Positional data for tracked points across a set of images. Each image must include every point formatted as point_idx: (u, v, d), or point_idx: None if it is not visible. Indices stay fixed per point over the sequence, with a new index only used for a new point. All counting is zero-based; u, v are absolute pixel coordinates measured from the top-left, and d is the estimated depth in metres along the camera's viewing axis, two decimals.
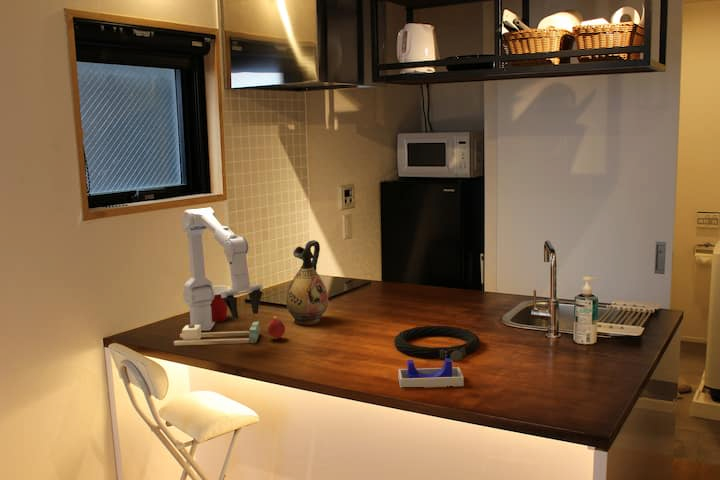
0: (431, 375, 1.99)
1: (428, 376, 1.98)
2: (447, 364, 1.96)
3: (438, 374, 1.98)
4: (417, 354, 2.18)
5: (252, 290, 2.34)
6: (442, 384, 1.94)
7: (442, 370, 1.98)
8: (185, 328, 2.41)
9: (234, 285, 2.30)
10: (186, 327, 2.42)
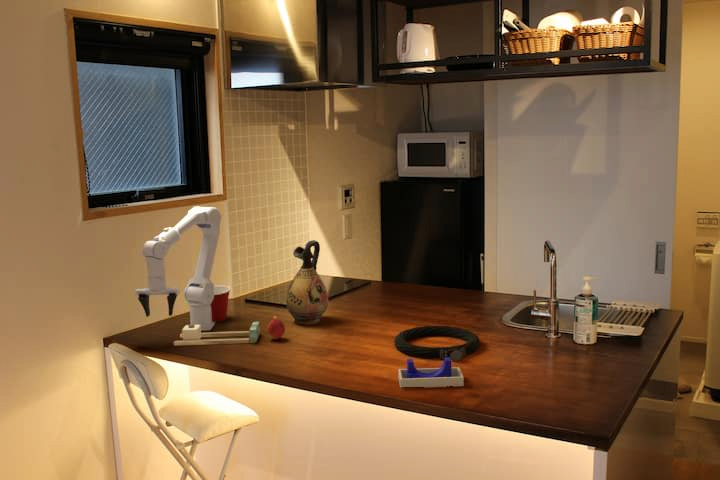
0: (430, 374, 2.00)
1: (427, 375, 1.99)
2: (446, 363, 1.97)
3: (437, 373, 1.99)
4: (417, 354, 2.18)
5: (168, 293, 2.40)
6: (442, 384, 1.94)
7: (441, 369, 1.99)
8: (185, 328, 2.41)
9: None
10: (186, 327, 2.42)
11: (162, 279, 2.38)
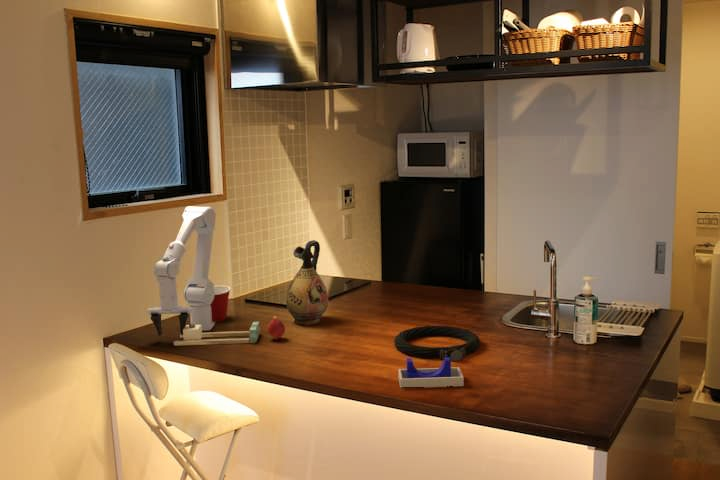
0: (430, 373, 2.00)
1: (426, 375, 1.99)
2: (446, 363, 1.97)
3: (437, 373, 1.99)
4: (417, 354, 2.18)
5: (180, 312, 2.41)
6: (442, 384, 1.94)
7: (441, 369, 1.99)
8: (186, 328, 2.41)
9: None
10: (187, 327, 2.42)
11: (174, 298, 2.39)
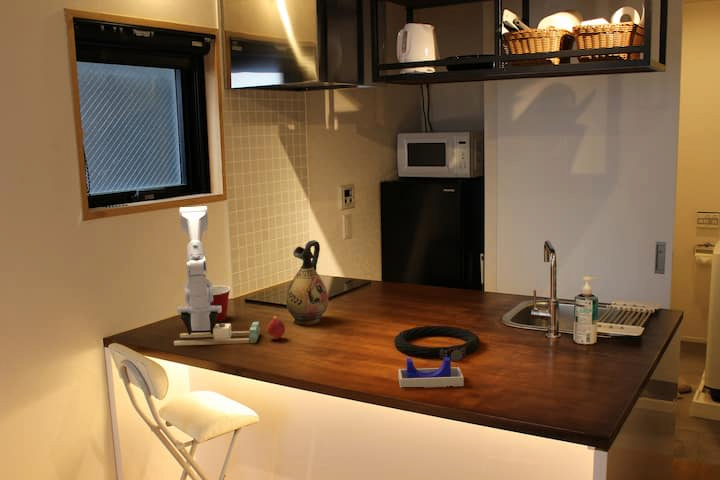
0: (430, 373, 2.00)
1: (426, 375, 1.99)
2: (446, 363, 1.97)
3: (437, 373, 1.99)
4: (417, 354, 2.18)
5: (210, 311, 2.41)
6: (442, 384, 1.94)
7: (441, 369, 1.99)
8: (216, 327, 2.41)
9: (190, 304, 2.41)
10: (217, 326, 2.42)
11: (204, 297, 2.39)
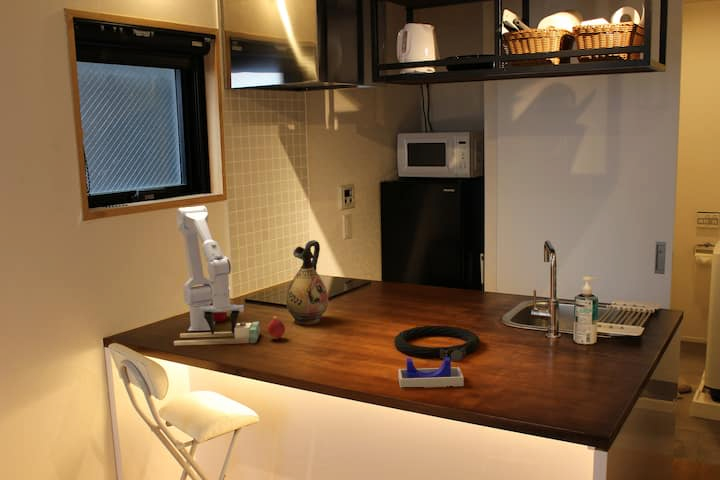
0: (430, 374, 2.00)
1: (426, 375, 1.99)
2: (446, 363, 1.97)
3: (437, 373, 1.99)
4: (417, 354, 2.18)
5: (232, 310, 2.41)
6: (442, 384, 1.94)
7: (441, 369, 1.99)
8: (237, 326, 2.41)
9: None
10: (238, 325, 2.43)
11: (227, 297, 2.39)
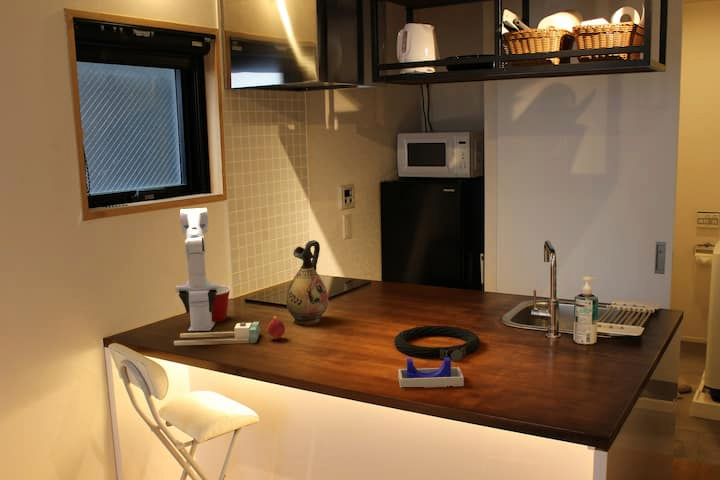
0: (430, 374, 2.00)
1: (427, 375, 1.99)
2: (446, 363, 1.97)
3: (437, 373, 1.99)
4: (417, 354, 2.18)
5: (208, 289, 2.40)
6: (442, 384, 1.94)
7: (441, 369, 1.99)
8: (237, 326, 2.41)
9: (188, 282, 2.40)
10: (238, 325, 2.43)
11: (203, 276, 2.38)
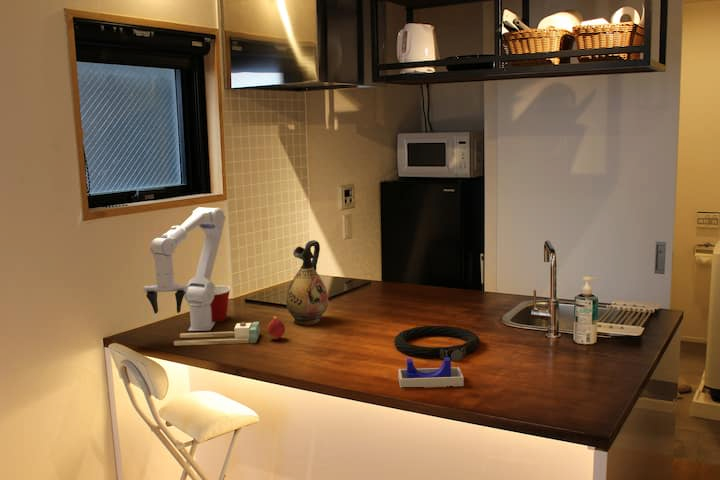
0: (430, 374, 2.00)
1: (427, 375, 1.99)
2: (446, 363, 1.97)
3: (437, 373, 1.99)
4: (417, 354, 2.18)
5: (176, 289, 2.41)
6: (442, 384, 1.94)
7: (441, 369, 1.99)
8: (237, 326, 2.41)
9: None
10: (238, 325, 2.43)
11: (170, 276, 2.39)
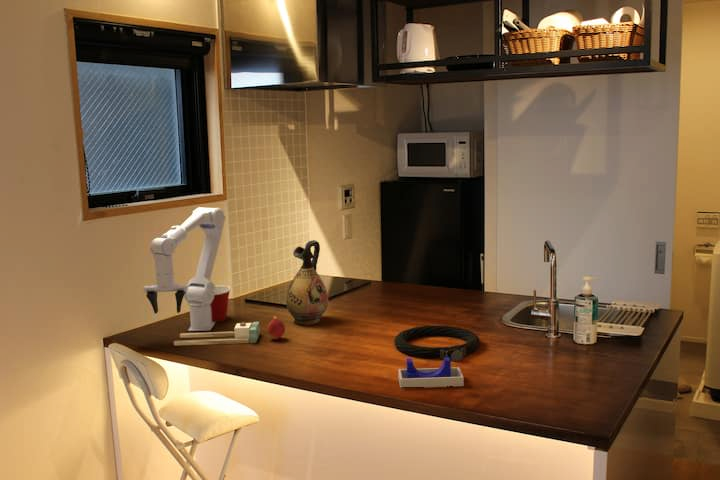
0: (430, 374, 2.00)
1: (426, 375, 1.99)
2: (446, 363, 1.97)
3: (437, 373, 1.99)
4: (417, 354, 2.18)
5: (176, 289, 2.41)
6: (442, 384, 1.94)
7: (441, 369, 1.99)
8: (237, 326, 2.41)
9: None
10: (238, 325, 2.43)
11: (170, 276, 2.39)
